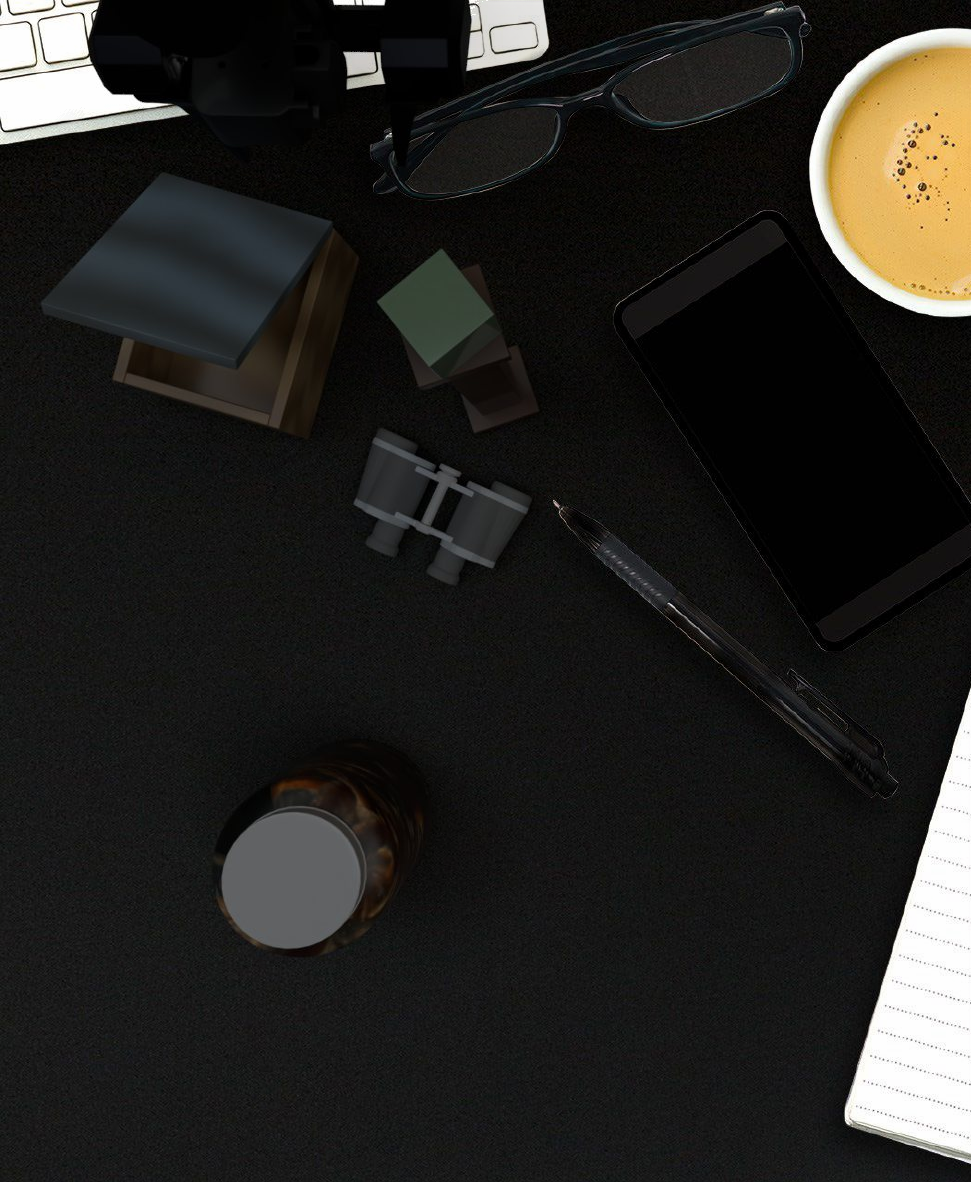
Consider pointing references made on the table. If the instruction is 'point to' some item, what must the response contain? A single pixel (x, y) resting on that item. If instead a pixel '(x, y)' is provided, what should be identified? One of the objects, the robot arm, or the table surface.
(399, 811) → the jar
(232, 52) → the robot arm
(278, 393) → the box
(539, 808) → the table surface
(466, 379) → the pillar
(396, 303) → the cube
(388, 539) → the binoculars
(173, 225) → the lid
